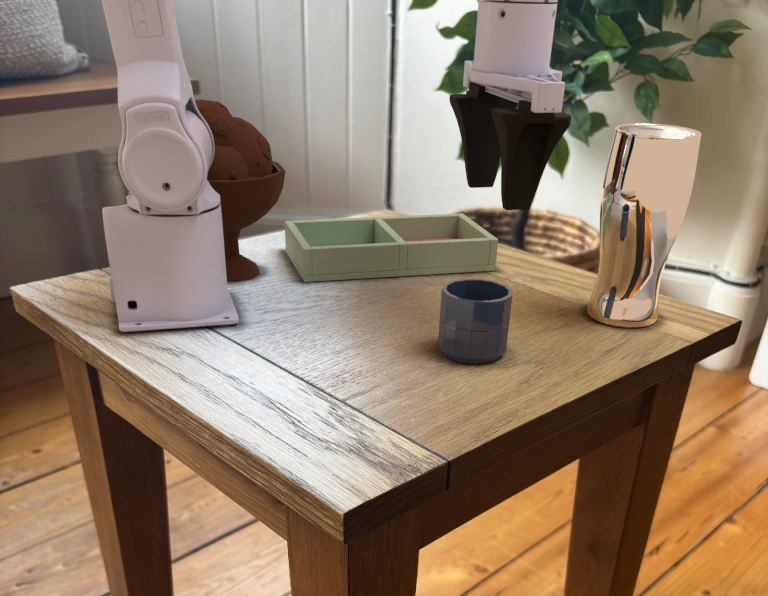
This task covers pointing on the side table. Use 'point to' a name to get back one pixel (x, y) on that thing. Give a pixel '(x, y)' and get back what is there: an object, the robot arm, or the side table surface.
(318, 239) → the tray
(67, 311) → the side table surface
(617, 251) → the beer glass
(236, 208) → the ice cream bowl
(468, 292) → the handleless cup
